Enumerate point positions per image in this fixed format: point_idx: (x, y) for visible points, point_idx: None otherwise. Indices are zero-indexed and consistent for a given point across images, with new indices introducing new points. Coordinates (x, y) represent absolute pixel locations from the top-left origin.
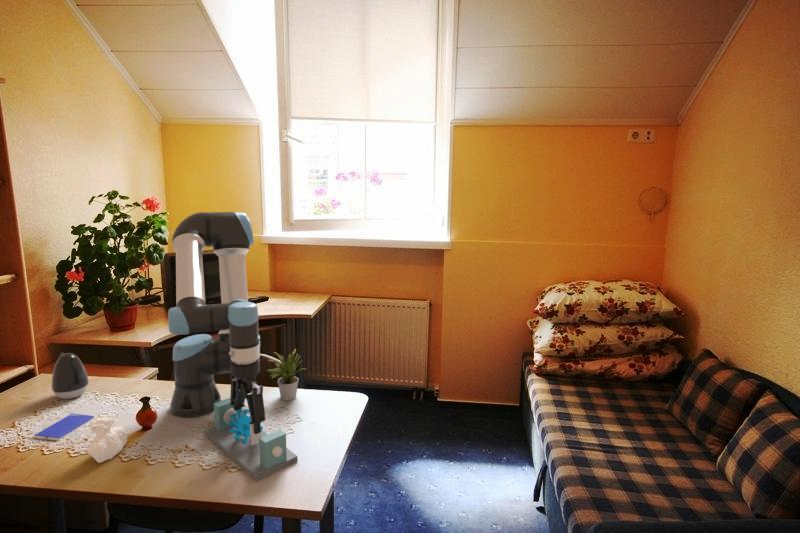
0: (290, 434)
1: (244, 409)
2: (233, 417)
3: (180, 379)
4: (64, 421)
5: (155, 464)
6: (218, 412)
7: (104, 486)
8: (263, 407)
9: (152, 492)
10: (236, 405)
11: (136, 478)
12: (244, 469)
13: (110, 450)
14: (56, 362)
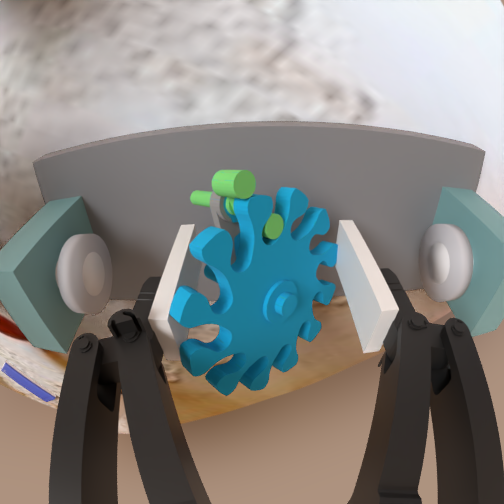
0: (306, 22)
1: (169, 322)
2: (234, 379)
3: None
4: (18, 381)
5: (182, 378)
6: (75, 330)
7: (205, 413)
8: (488, 401)
9: (275, 394)
10: (171, 396)
11: (212, 397)
12: None
13: (121, 408)
14: None
